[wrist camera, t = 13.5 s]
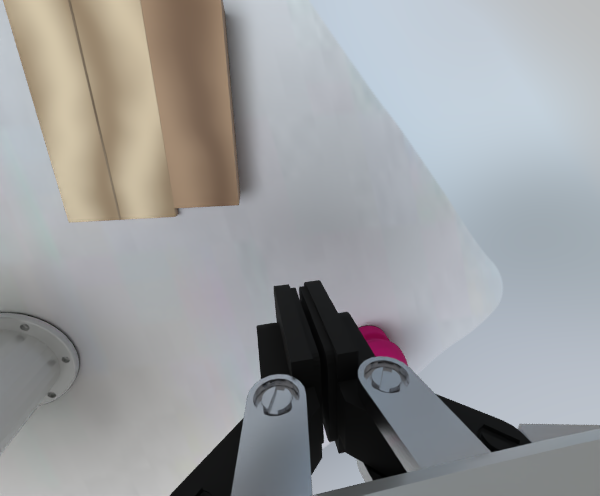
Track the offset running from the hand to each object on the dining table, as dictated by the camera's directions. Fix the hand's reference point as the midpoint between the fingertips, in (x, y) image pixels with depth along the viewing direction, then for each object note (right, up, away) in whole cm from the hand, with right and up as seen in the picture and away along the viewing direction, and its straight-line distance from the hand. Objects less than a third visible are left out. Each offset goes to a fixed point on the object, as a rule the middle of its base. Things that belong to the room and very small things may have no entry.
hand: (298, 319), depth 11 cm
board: (-16, +15, +17) cm, 28 cm away
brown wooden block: (-9, +16, +19) cm, 26 cm away
